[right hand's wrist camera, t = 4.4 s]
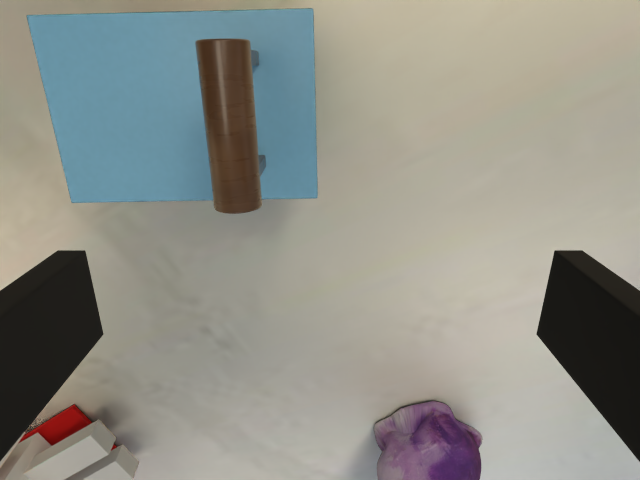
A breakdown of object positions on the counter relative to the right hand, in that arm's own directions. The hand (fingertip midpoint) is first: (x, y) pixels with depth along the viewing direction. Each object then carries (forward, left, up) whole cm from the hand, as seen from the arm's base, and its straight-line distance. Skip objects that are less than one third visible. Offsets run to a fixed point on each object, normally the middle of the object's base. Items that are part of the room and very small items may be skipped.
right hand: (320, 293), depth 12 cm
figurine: (+24, +21, -25) cm, 40 cm away
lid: (-1, -8, -14) cm, 16 cm away
